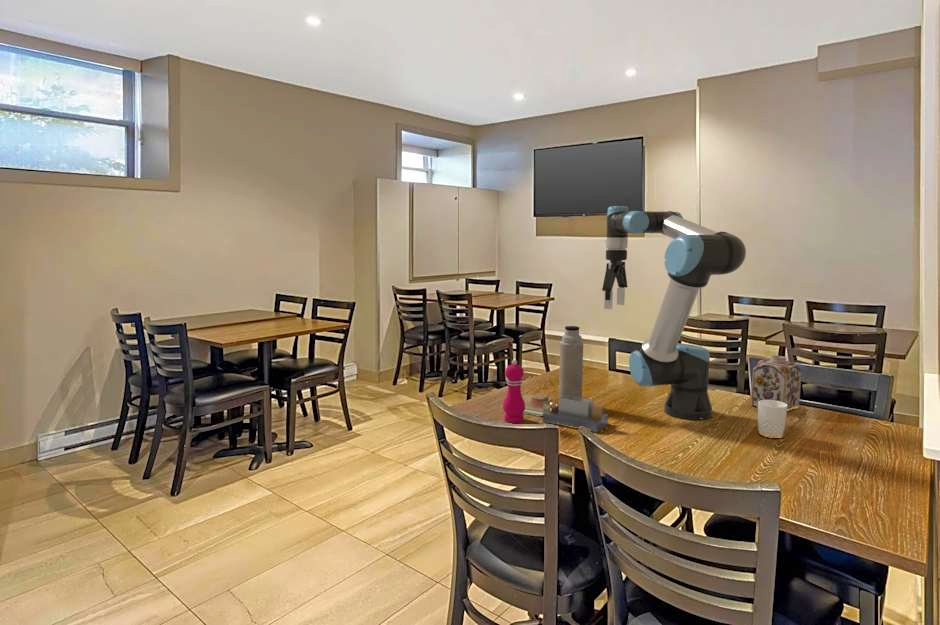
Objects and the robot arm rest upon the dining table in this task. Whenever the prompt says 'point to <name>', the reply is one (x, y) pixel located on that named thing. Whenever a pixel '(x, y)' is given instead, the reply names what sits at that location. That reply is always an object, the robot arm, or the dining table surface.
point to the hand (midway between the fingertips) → (614, 306)
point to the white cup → (771, 417)
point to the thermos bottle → (571, 363)
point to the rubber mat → (533, 412)
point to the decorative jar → (776, 381)
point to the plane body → (576, 413)
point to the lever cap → (537, 402)
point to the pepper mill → (514, 394)
